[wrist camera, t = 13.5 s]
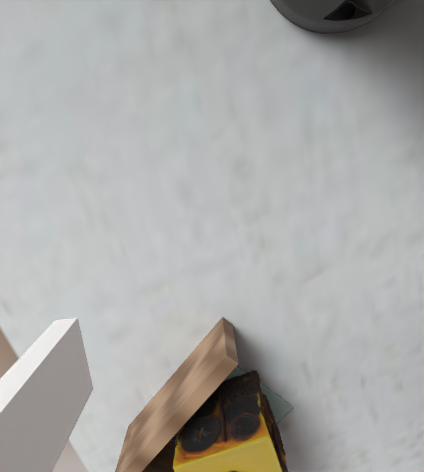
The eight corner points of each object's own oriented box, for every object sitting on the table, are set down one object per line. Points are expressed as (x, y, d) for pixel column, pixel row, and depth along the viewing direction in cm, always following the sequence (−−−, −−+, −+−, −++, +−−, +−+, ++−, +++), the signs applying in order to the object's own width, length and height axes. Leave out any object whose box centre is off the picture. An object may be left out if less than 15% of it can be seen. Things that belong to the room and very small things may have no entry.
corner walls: (222, 317, 40) (226, 355, 33) (325, 392, 43) (351, 444, 35) (128, 426, 43) (111, 484, 36) (229, 490, 46) (234, 558, 38)
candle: (256, 367, 42) (271, 431, 32) (282, 433, 44) (303, 512, 34) (177, 395, 42) (169, 465, 33) (207, 458, 44) (207, 542, 35)
